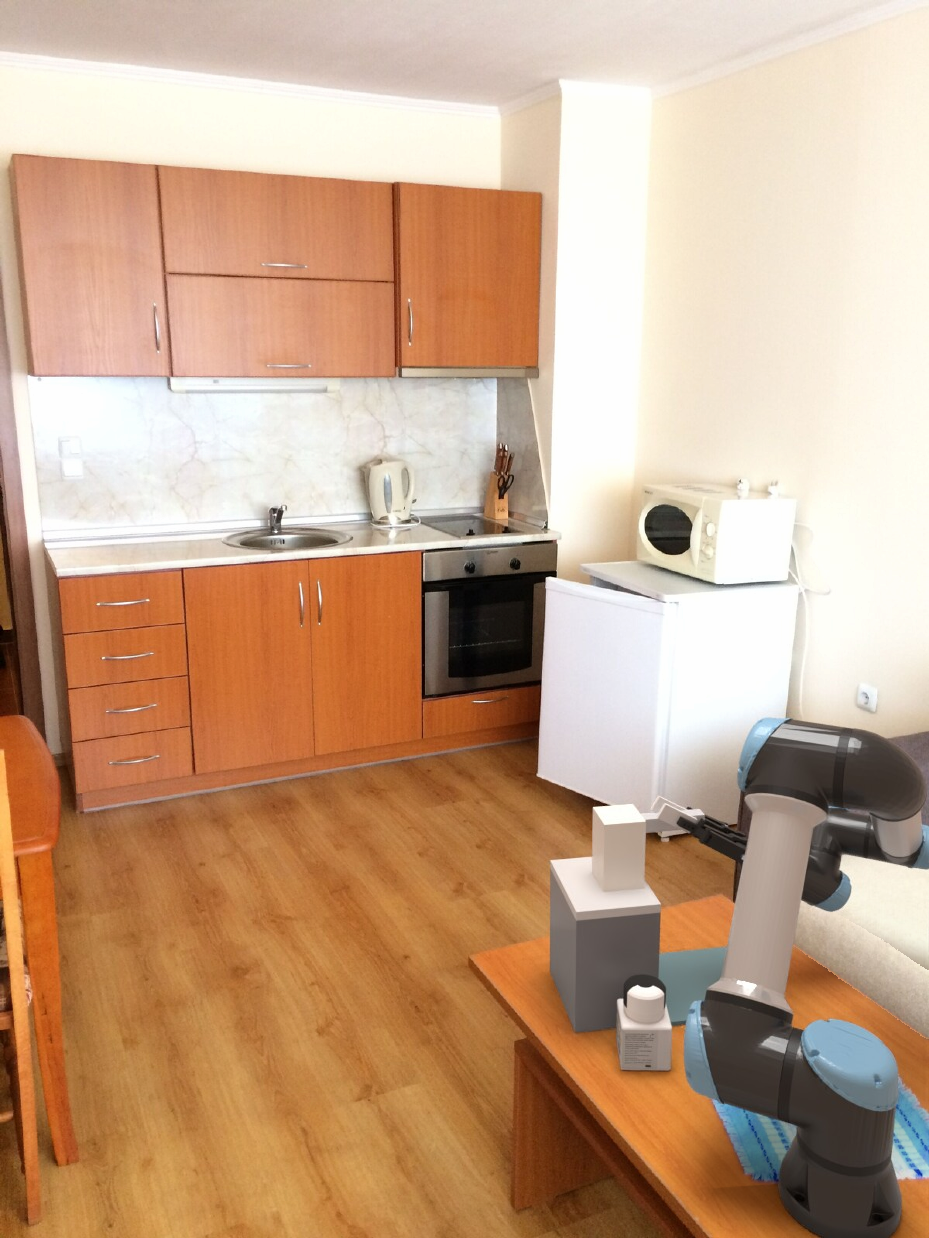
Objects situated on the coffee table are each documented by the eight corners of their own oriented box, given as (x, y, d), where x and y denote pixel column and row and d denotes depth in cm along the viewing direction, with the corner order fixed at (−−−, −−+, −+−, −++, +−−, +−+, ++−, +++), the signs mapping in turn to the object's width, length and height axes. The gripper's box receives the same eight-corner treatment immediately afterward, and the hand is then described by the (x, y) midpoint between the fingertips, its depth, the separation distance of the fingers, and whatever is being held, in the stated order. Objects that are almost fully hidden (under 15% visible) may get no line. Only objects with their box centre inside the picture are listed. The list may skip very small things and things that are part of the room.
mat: (734, 949, 194) (734, 945, 194) (781, 1013, 175) (782, 1009, 174) (630, 959, 191) (630, 956, 191) (667, 1026, 172) (667, 1022, 172)
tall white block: (692, 862, 181) (694, 798, 178) (707, 882, 174) (710, 815, 171) (591, 871, 178) (592, 807, 175) (603, 891, 171) (604, 824, 168)
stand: (624, 963, 190) (627, 853, 184) (657, 1023, 172) (661, 904, 167) (549, 971, 188) (550, 860, 182) (575, 1032, 170) (576, 912, 165)
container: (615, 1039, 169) (617, 968, 166) (663, 1039, 168) (666, 968, 165) (620, 1070, 161) (622, 997, 158) (671, 1071, 161) (673, 997, 158)
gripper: (778, 901, 172) (662, 846, 166) (740, 858, 187) (632, 806, 181) (801, 863, 171) (685, 806, 165) (761, 823, 186) (654, 770, 180)
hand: (658, 806), depth 173 cm, fingers closed on tall white block, 2 cm apart
